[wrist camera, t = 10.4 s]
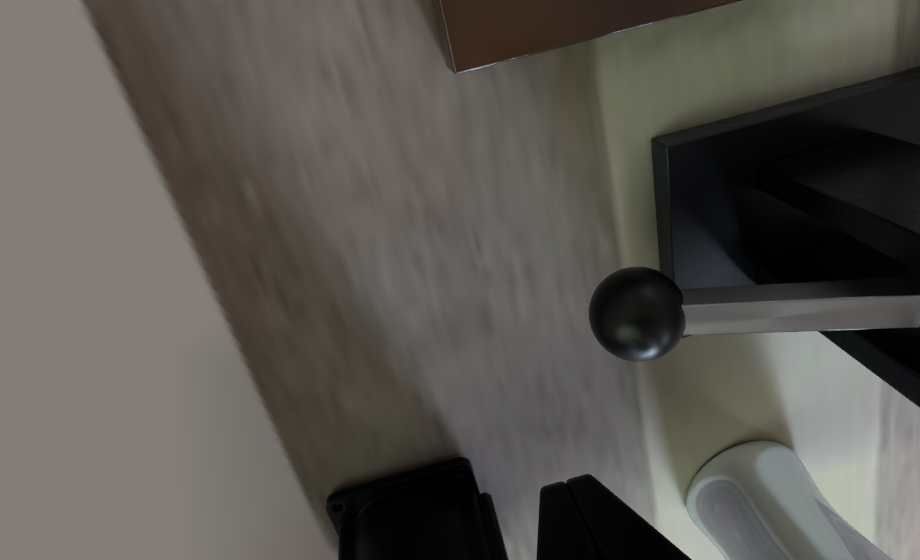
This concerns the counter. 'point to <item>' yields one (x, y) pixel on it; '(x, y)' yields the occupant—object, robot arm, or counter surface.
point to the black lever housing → (802, 203)
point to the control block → (541, 25)
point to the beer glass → (770, 509)
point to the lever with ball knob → (740, 309)
